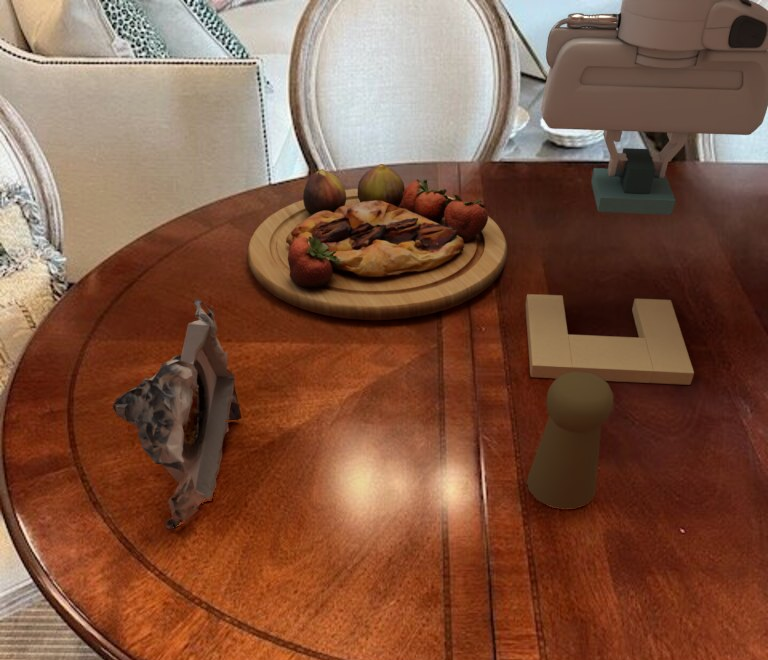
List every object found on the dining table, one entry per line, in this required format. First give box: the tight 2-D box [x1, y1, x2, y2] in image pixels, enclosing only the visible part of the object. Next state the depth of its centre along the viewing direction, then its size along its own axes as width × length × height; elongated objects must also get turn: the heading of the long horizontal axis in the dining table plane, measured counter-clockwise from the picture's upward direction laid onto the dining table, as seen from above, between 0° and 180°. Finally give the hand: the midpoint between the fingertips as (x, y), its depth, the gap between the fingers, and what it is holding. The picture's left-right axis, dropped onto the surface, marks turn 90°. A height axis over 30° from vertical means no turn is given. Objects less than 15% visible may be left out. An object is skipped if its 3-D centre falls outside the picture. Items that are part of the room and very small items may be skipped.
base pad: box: [525, 293, 695, 386], centre depth 84 cm, size 16×14×2 cm
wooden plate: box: [246, 163, 508, 321], centre depth 95 cm, size 32×32×8 cm
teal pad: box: [590, 147, 676, 216], centre depth 78 cm, size 7×7×4 cm
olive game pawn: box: [526, 372, 614, 509], centre depth 65 cm, size 6×6×11 cm
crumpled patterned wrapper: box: [112, 298, 242, 531], centre depth 65 cm, size 15×4×13 cm, turn 174°
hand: (635, 175), depth 78 cm, fingers closed on teal pad, 2 cm apart
